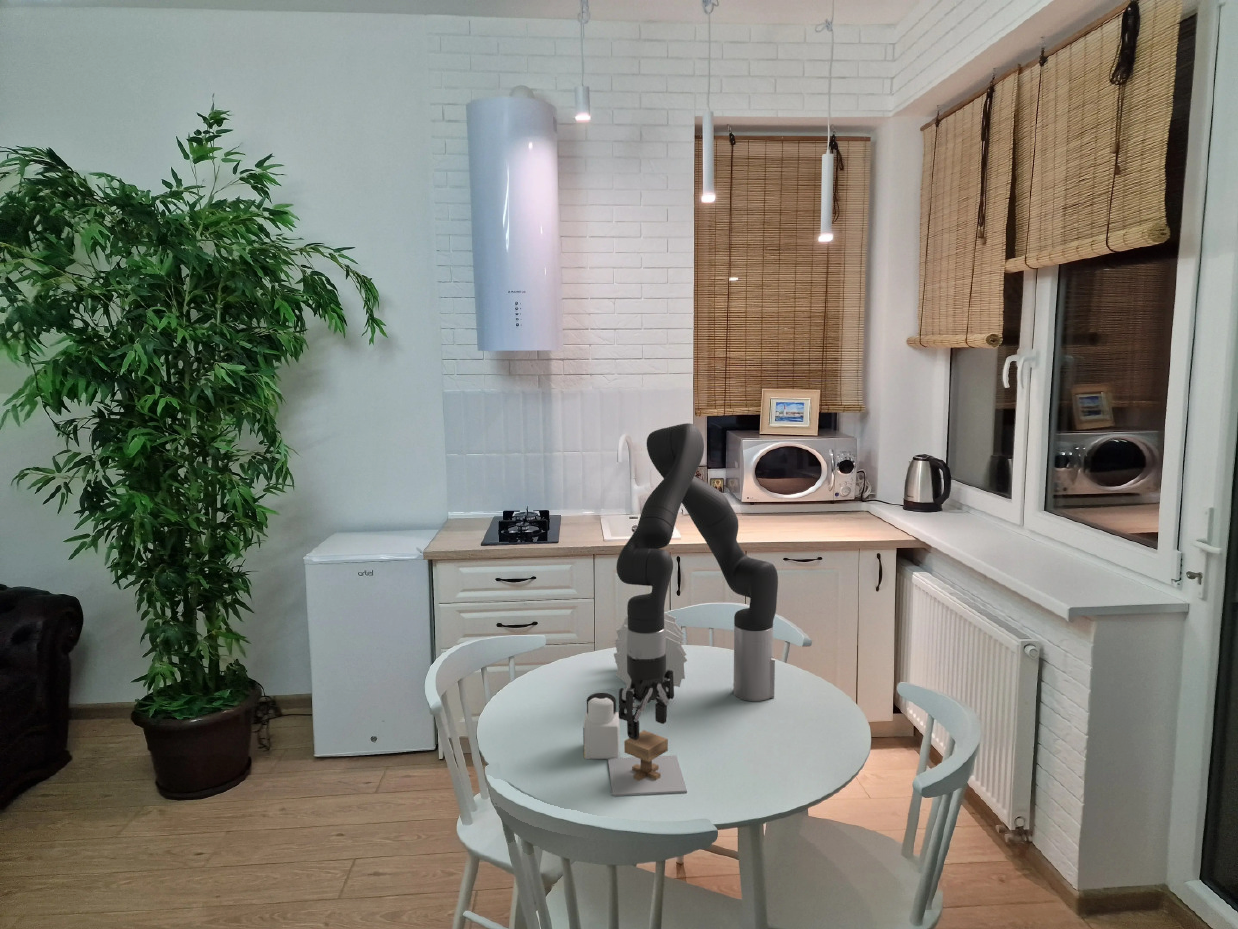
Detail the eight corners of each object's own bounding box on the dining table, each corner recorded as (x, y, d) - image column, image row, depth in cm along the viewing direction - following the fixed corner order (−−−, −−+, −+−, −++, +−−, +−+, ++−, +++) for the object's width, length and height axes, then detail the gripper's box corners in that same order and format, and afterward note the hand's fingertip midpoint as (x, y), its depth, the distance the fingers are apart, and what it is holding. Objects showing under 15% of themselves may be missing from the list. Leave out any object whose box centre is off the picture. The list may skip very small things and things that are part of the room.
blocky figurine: (586, 743, 177) (585, 689, 176) (619, 743, 177) (619, 689, 176) (583, 759, 170) (582, 703, 169) (618, 759, 170) (618, 703, 168)
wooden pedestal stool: (644, 763, 168) (643, 730, 167) (667, 773, 164) (667, 739, 163) (624, 775, 163) (624, 741, 162) (648, 785, 159) (648, 750, 158)
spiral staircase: (664, 680, 222) (669, 716, 197) (604, 652, 221) (601, 685, 196) (694, 619, 220) (702, 647, 195) (633, 591, 220) (634, 616, 195)
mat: (676, 757, 171) (676, 755, 171) (687, 792, 157) (687, 790, 157) (608, 760, 170) (607, 758, 170) (612, 796, 156) (612, 794, 156)
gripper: (653, 636, 168) (654, 712, 170) (607, 656, 157) (608, 738, 159) (684, 644, 163) (684, 722, 165) (638, 666, 152) (639, 750, 154)
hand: (647, 730), depth 162 cm, fingers open, 8 cm apart
